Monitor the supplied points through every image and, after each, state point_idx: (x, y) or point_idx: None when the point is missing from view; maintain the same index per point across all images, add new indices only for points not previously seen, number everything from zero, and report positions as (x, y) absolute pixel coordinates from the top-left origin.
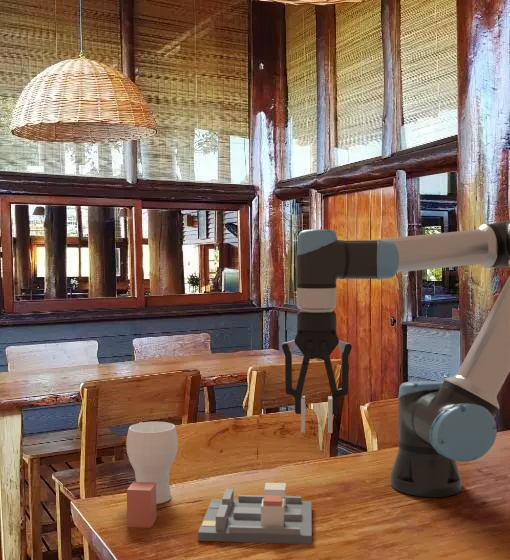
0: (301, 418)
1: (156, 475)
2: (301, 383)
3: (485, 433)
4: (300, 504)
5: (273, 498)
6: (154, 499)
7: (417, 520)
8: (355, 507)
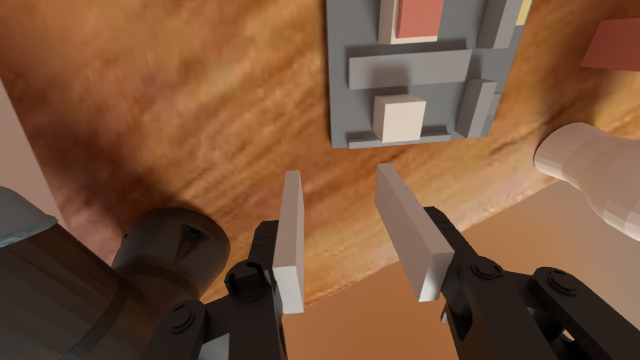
0: (407, 188)
1: (613, 143)
2: (522, 358)
3: None
4: (348, 132)
5: (420, 12)
6: (630, 54)
7: (162, 121)
8: (265, 159)
